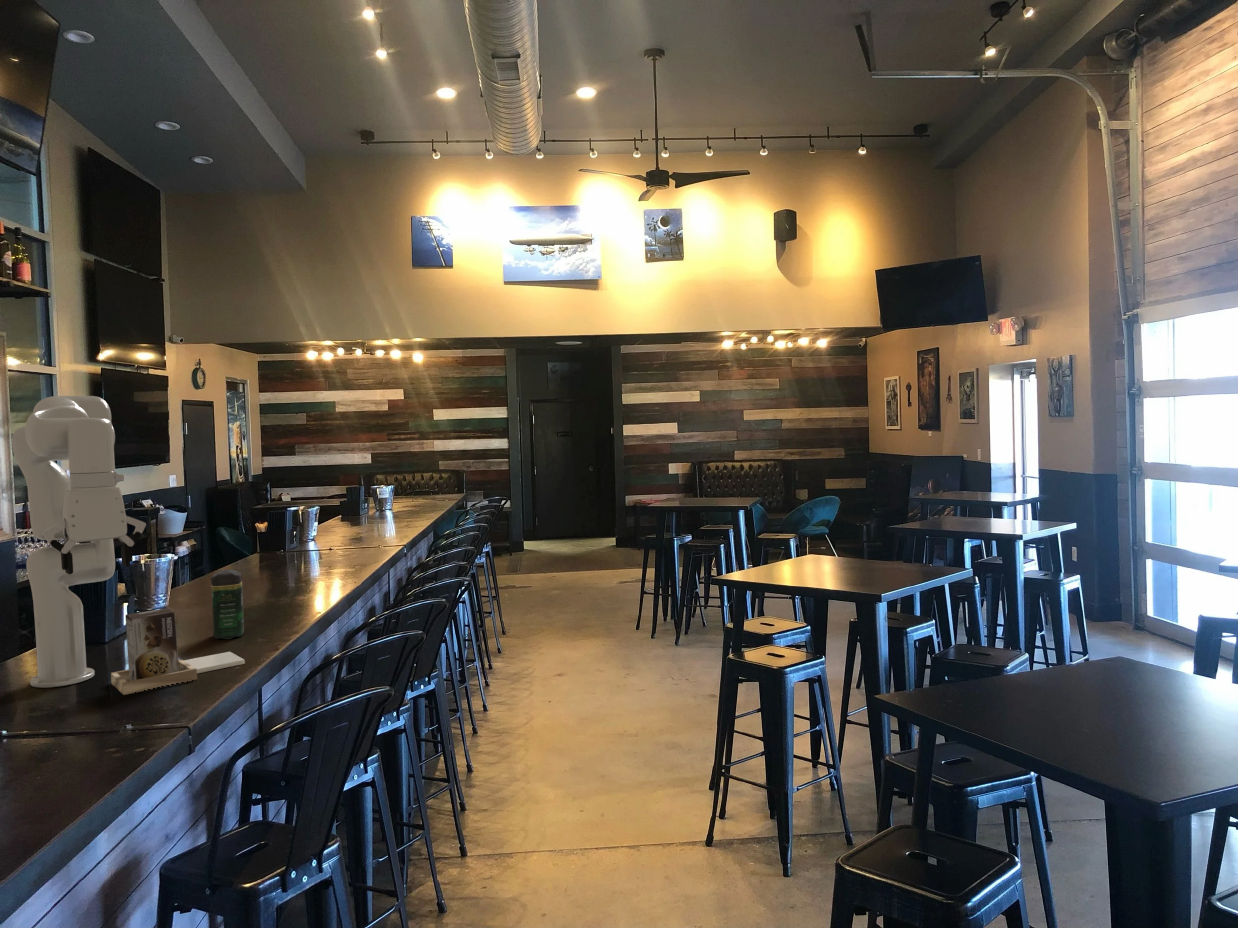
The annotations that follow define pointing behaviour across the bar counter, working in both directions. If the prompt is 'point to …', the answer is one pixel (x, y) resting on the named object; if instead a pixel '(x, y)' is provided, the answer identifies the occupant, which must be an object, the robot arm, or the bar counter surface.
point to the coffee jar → (227, 604)
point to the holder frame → (152, 679)
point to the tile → (215, 662)
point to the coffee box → (151, 643)
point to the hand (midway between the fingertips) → (98, 569)
